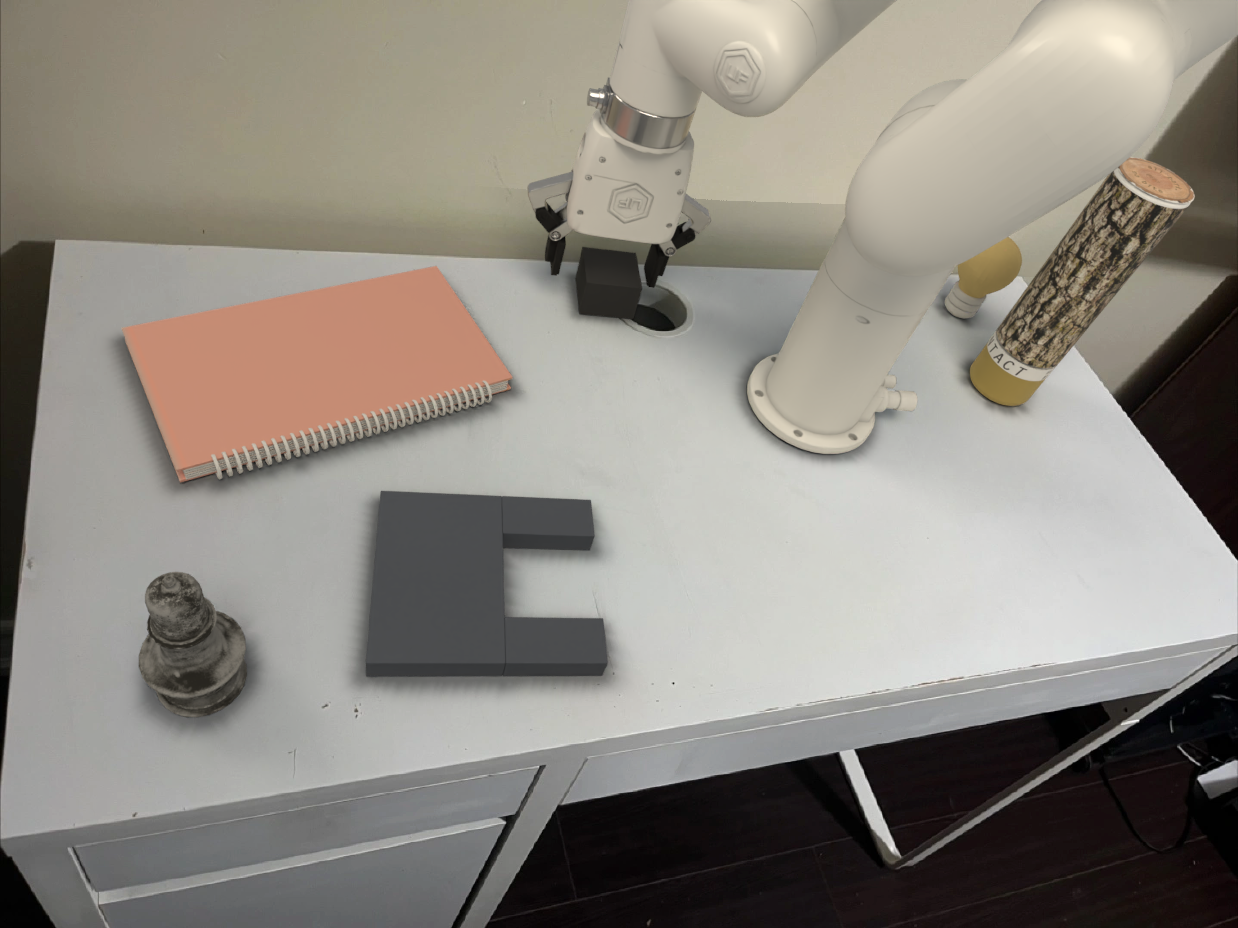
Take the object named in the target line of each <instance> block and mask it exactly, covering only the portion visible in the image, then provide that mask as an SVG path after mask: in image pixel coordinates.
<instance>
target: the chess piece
mask: <svg viewBox="0 0 1238 928" xmlns="http://www.w3.org/2000/svg"><path fill="white" fill-rule="evenodd" d="M144 604H145V606H146V609H147V611H148V614H149V615H148V618H147V622H146V629H147V632H148V634H147V636H146V637H145V639H144V641H143V642H142V644H141V647H140V650H139V653H138V669H139V672H140V675H141V678H142V680H143V681H144V682H145V683H146V684H147V685H148V687H149V688H151V689H152V690H153V691H155V692H156V696H157V699H158V701H159V702H160V703H161V705H162V706H163V707H164V708H165V709H166V710H167V711H169V712H171V713H173V714H175V715H177V716H180V717H184V718H201V717H206V716H212V715H213V714H215V713H218V712H220V711H222V710H223V709H225V708H226V707H228V706H230V705H231V704H232V703H233V702H234V701H235V700H236V699H237V697H238V696H239V695H240V694H241V692H242V690H243V688H244V686H246V681H247V676H248V665H247V662H246V659H245V655H246V651H247V644H246V636H245V634H244V631H243V629H242V627H241V626H240V624H239V623H238V622H237V621H236V620H235V619H234V618H233V617H231V616H229V615H228V614H226V613H224V612H222V611H219V610H216V608H215V606H214V604H213V603H212V602H211V600H210V599H209V598H207V597H205V595H204V592H203V589H202V585H201V583H200V582H199V581H198V580H197V578H195V576H192V575H191V574H189V573H186V572H183V571H170V572H166V573H163V574H160V575H159V576H157V577H155V578H154V579H153V580H151V582H150V583H149V584H148V586H146V590H145V593H144Z"/></svg>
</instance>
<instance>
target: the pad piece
mask: <svg viewBox="0 0 1238 928" xmlns="http://www.w3.org/2000/svg"><path fill="white" fill-rule="evenodd" d="M575 286H576V296H577V306H578V313H579V315H583V316H584V315H585V316H593V317H594V316H595V317H607V318H616V319H624V320H625V319H627V320H634V318H635V316H636V311H637V310H638V309H637V308H638V306H639V301H640V298H641V295H642V291H643V284H642V279H641V273H640V267H639V262H638V255H637V252H633V251H624V250H614V249H606V248H597V247H587V246H582V247H581V250H580V256H579V260H578V265H577V269H576V274H575Z"/></svg>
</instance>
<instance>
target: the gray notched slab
mask: <svg viewBox="0 0 1238 928" xmlns="http://www.w3.org/2000/svg"><path fill="white" fill-rule="evenodd" d="M378 505H379V506H378V516H377V528H376V539H375V549H374V550H375V551H374V560H373V561H374V563H373V575H372V585H371V598H370V607H369V608H370V609H369V620H368V630H367V631H368V632H367V642H366V643H367V644H366V655H365V677H370V678H372V677H373V678H374V677H375V678H376V677H381V678H383V677H384V678H386V677H387V678H388V677H392V678H393V677H602V676H603V675H604V673H605V671H606V668H607V666H608V664H609V659H608V651H607V642H606V641H607V640H606V632H605V622H604V618H602V617H601V618H600V617H536V616H535V617H533V616H531V617H529V616H528V617H527V616H525V617H524V616H521V617H520V616H505V579H504V578H505V577H504V576H505V575H504V549H525V550H529V549H530V550H559V551H560V550H562V551H563V550H564V551H591V550H592V549H591V548H592V545H593V542H594V539H595V537H596V535H595V526H594V515H593V506H592V500H591V499H581V498H579V499H578V498H561V497H560V498H557V497H556V498H555V497H533V496H512V495H511V496H510V495H487V494H486V495H485V494H467V493H466V494H465V493H444V492H443V493H442V492H441V493H440V492H419V491H395V490H381V491H380V495H379V504H378Z"/></svg>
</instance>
